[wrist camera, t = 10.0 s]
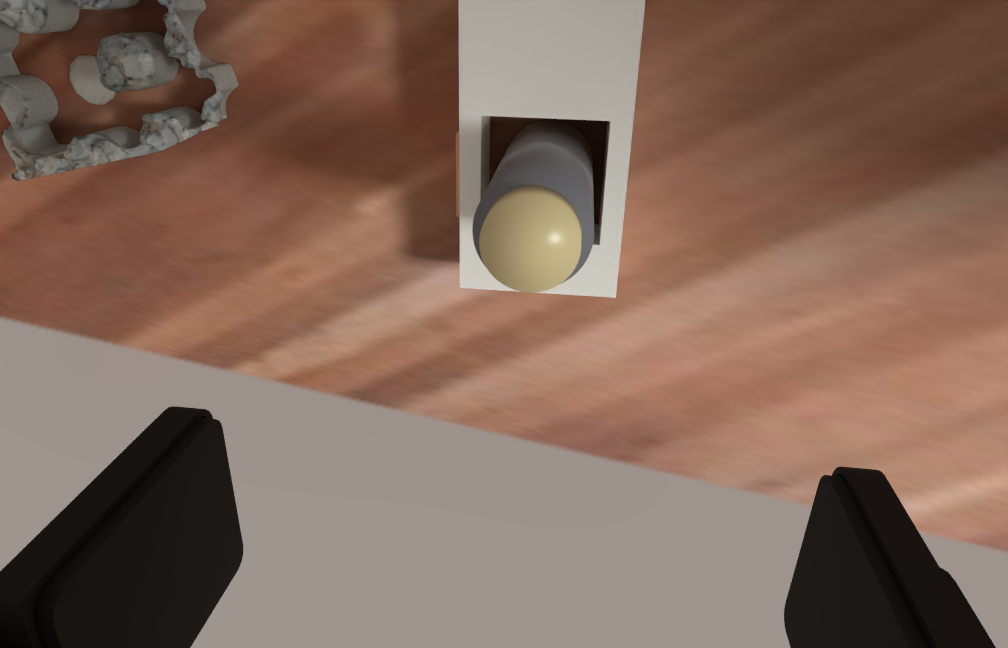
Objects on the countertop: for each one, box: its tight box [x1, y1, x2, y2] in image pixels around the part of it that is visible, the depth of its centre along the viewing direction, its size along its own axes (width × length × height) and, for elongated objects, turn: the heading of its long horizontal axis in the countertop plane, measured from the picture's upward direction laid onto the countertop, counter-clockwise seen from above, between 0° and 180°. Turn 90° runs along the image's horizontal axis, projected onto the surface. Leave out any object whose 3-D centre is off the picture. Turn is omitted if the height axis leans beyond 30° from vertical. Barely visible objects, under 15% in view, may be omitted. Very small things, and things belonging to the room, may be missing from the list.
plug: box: [472, 120, 594, 292], centre depth 27 cm, size 4×4×11 cm
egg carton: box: [0, 0, 239, 180], centre depth 31 cm, size 11×8×4 cm
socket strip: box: [456, 0, 645, 298], centre depth 28 cm, size 7×20×3 cm, turn 179°
